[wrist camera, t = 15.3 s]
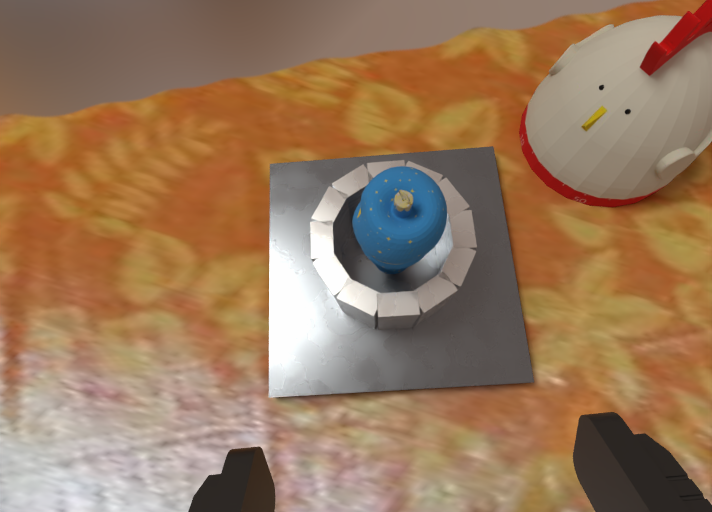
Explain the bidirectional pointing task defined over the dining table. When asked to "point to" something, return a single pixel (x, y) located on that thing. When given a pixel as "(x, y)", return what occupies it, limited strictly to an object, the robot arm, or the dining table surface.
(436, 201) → the ornament
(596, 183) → the kitchen timer
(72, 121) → the dining table surface
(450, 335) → the tube on square plate
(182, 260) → the dining table surface
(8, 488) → the dining table surface
